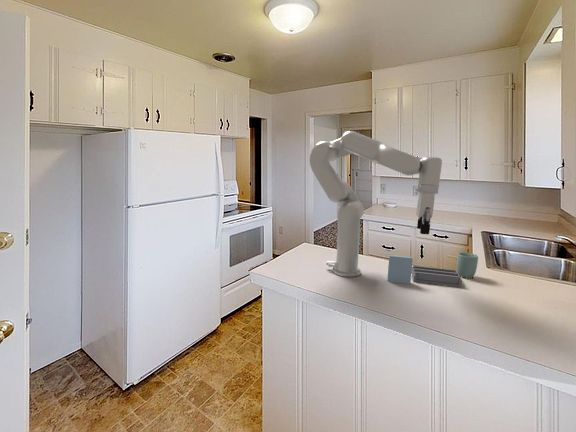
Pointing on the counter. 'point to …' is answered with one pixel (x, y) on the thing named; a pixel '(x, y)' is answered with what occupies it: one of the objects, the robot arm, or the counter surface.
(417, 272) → the rack
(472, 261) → the cup
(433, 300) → the counter surface
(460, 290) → the counter surface
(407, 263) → the light blue upright panel
